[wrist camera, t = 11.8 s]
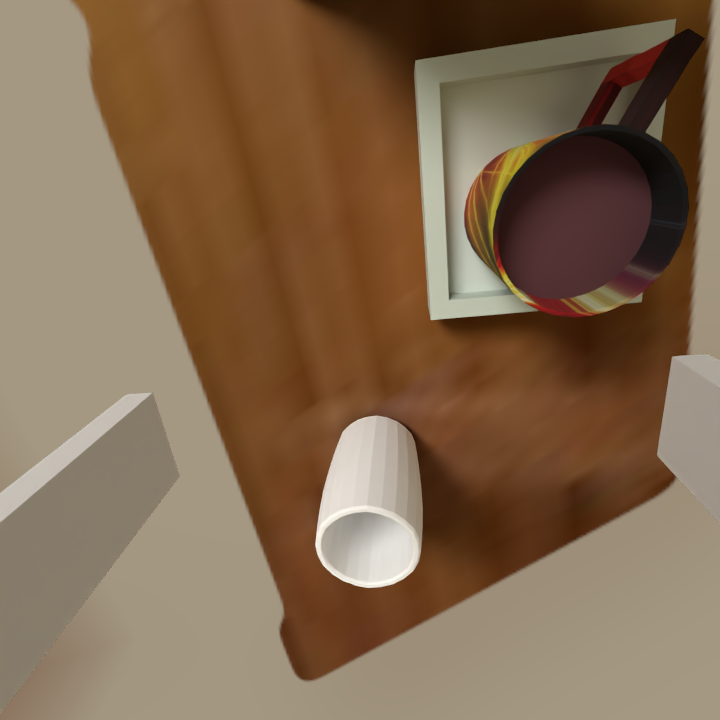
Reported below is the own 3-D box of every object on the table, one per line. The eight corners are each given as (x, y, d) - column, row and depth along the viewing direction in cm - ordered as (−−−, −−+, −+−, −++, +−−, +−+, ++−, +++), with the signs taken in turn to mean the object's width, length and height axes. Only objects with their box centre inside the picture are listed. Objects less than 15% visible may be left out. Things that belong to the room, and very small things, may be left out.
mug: (615, 71, 30) (739, 9, 19) (582, 274, 35) (665, 317, 24) (471, 78, 31) (509, 23, 20) (460, 275, 36) (485, 317, 25)
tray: (413, 73, 33) (415, 60, 29) (643, 37, 31) (676, 18, 27) (428, 306, 40) (430, 320, 36) (618, 290, 37) (641, 302, 34)
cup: (417, 479, 47) (423, 595, 34) (338, 475, 47) (314, 588, 34) (420, 407, 43) (427, 506, 30) (335, 405, 44) (307, 500, 31)
